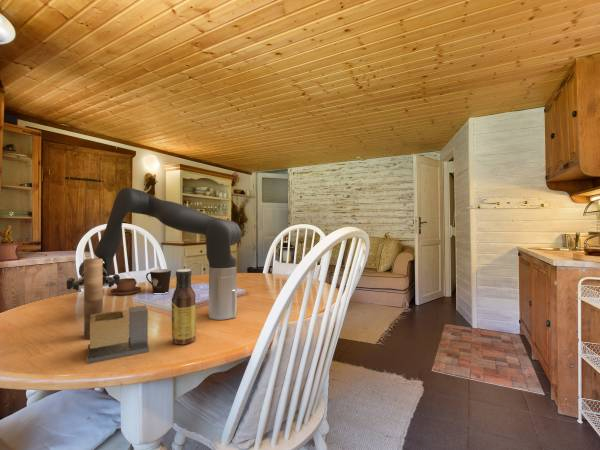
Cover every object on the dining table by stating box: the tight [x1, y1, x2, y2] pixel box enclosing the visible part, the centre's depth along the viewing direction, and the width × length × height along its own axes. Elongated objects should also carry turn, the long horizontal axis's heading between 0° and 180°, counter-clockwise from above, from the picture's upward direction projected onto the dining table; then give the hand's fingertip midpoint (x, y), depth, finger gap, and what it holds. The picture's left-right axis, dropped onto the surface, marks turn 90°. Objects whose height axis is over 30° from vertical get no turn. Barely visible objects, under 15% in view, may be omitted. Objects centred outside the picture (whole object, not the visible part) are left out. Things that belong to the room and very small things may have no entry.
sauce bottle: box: [171, 268, 197, 345], centre depth 87 cm, size 7×6×20 cm
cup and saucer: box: [109, 277, 142, 296], centre depth 141 cm, size 12×12×6 cm
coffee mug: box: [145, 268, 172, 294], centre depth 143 cm, size 12×9×10 cm
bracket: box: [86, 304, 150, 364], centre depth 81 cm, size 10×13×10 cm
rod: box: [83, 257, 104, 341], centre depth 90 cm, size 4×4×22 cm
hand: (94, 285), depth 97 cm, fingers open, 8 cm apart
